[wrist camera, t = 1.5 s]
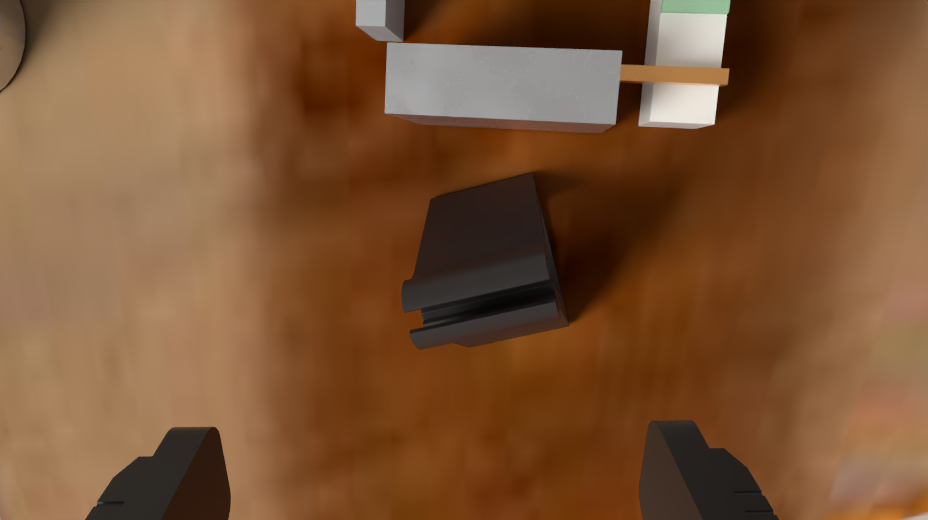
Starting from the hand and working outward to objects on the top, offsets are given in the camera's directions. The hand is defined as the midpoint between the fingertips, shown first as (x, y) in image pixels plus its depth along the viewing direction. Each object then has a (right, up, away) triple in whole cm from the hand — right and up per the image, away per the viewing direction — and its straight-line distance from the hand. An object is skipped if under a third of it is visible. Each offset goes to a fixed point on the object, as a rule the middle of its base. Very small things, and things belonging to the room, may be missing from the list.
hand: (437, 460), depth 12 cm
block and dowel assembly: (+6, +12, +23) cm, 27 cm away
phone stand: (+3, +4, +25) cm, 25 cm away
